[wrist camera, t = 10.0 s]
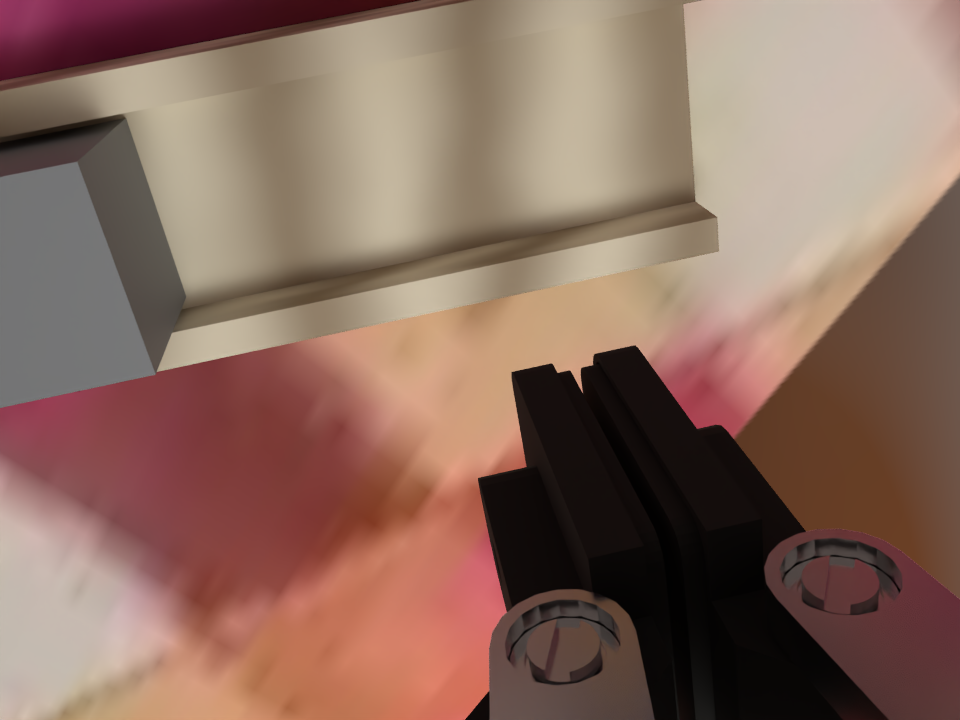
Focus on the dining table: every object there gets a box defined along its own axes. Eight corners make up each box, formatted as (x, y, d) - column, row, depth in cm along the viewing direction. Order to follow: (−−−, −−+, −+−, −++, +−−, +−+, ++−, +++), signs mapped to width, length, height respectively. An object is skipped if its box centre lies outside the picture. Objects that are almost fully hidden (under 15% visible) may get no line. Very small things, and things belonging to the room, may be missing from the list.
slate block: (126, 118, 28) (77, 161, 22) (186, 296, 30) (155, 374, 25) (-73, 156, 27) (-172, 210, 22) (6, 334, 30) (-65, 421, 24)
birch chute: (664, -47, 29) (704, -45, 26) (682, 222, 33) (719, 251, 30) (-149, 109, 28) (-211, 131, 25) (-26, 371, 32) (-65, 419, 29)
